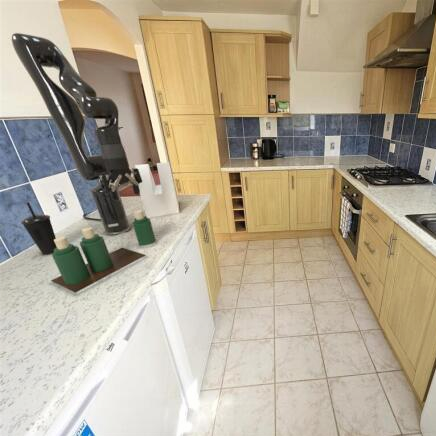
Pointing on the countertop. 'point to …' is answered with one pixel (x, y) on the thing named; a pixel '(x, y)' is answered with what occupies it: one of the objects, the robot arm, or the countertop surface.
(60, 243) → the near bottle
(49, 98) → the robot arm
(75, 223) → the countertop surface
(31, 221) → the drinking cup
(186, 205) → the countertop surface
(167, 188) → the white tall block
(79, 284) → the serving board
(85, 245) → the middle bottle
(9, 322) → the countertop surface
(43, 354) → the countertop surface
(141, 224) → the green bottle
